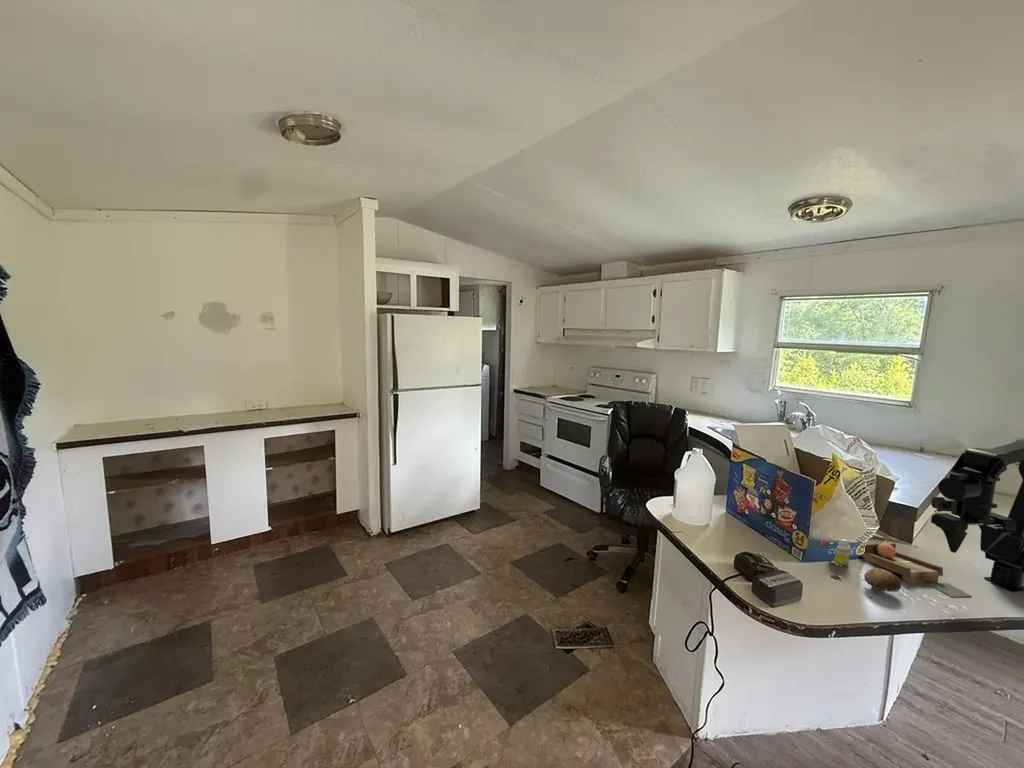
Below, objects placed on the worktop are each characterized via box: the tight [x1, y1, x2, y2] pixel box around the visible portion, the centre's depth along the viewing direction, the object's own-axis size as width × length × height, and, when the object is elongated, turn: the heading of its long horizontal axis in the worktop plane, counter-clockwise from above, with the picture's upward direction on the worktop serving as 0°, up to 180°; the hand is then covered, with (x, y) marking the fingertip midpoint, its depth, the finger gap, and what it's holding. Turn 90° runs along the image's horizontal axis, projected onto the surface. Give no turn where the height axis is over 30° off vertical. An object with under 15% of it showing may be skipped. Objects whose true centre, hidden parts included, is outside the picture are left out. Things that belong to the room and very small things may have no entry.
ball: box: [877, 543, 897, 558], centre depth 133 cm, size 4×4×4 cm
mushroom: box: [863, 567, 902, 594], centre depth 116 cm, size 8×8×6 cm
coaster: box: [927, 582, 973, 598], centre depth 118 cm, size 6×6×1 cm
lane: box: [864, 541, 944, 584], centre depth 129 cm, size 11×16×5 cm
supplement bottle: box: [834, 539, 851, 567], centre depth 131 cm, size 5×5×8 cm
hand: (968, 551), depth 116 cm, fingers open, 9 cm apart
